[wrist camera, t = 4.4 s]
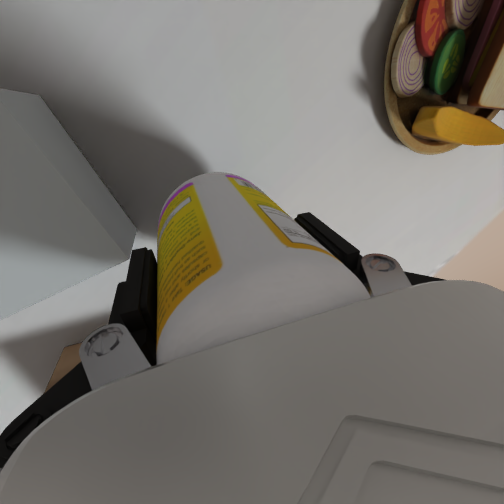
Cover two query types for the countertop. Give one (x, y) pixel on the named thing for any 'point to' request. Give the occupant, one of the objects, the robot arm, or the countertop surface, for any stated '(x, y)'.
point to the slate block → (50, 208)
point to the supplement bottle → (237, 267)
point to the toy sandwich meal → (446, 74)
